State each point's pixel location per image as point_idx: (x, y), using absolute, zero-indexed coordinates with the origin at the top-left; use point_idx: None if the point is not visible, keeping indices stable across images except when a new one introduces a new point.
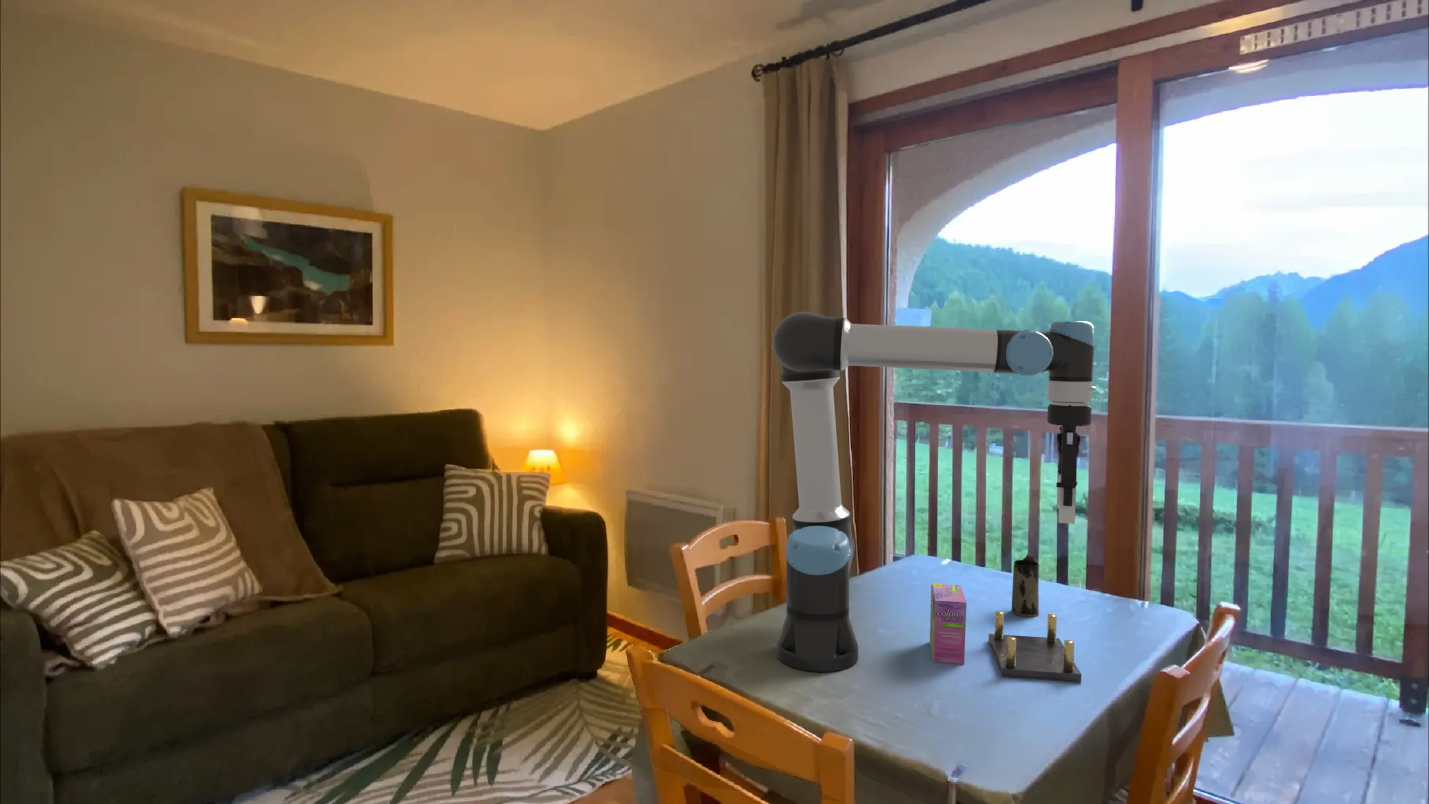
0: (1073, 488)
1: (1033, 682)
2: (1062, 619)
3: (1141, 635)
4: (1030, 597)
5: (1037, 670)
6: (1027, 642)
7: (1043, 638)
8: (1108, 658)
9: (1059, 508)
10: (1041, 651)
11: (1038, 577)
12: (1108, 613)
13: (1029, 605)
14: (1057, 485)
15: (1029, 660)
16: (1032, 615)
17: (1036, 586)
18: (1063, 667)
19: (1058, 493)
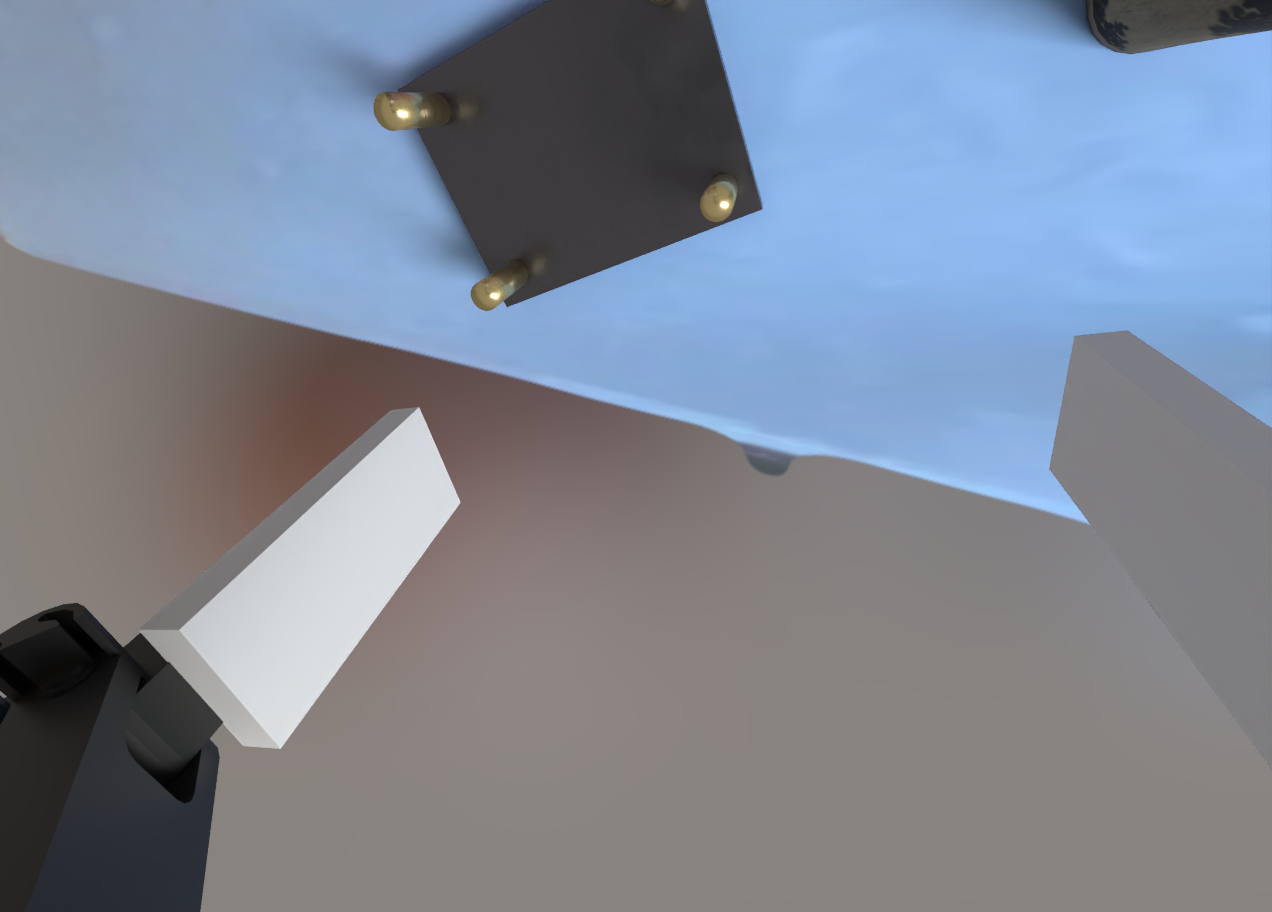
0: (228, 726)
1: (438, 186)
2: (1087, 168)
3: (968, 422)
4: (1133, 10)
5: (455, 195)
6: (665, 111)
7: (734, 158)
8: (722, 348)
9: (317, 476)
10: (607, 176)
11: (1269, 30)
12: (1215, 324)
13: (1110, 11)
14: (24, 635)
15: (512, 156)
16: (1095, 31)
17: (1192, 33)
18: (521, 259)
19: (1176, 431)
